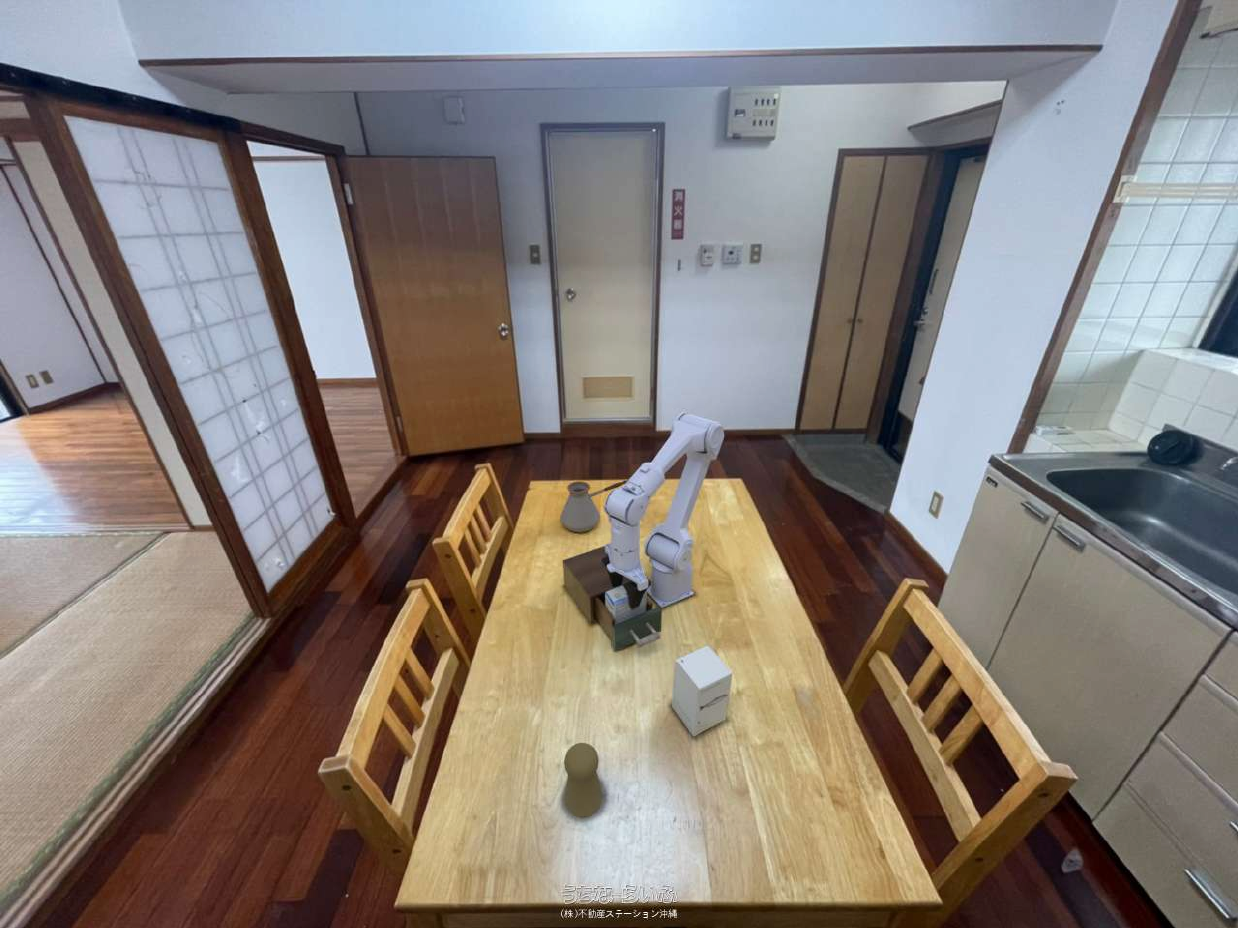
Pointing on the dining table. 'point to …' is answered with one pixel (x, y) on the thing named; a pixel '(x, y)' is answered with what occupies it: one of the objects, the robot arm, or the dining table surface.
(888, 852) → the dining table surface
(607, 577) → the cabinet
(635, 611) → the medicine box
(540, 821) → the dining table surface
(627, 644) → the drawer
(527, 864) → the dining table surface
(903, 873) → the dining table surface
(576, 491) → the coffee pot
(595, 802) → the brown pawn figure
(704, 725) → the white packaging box
